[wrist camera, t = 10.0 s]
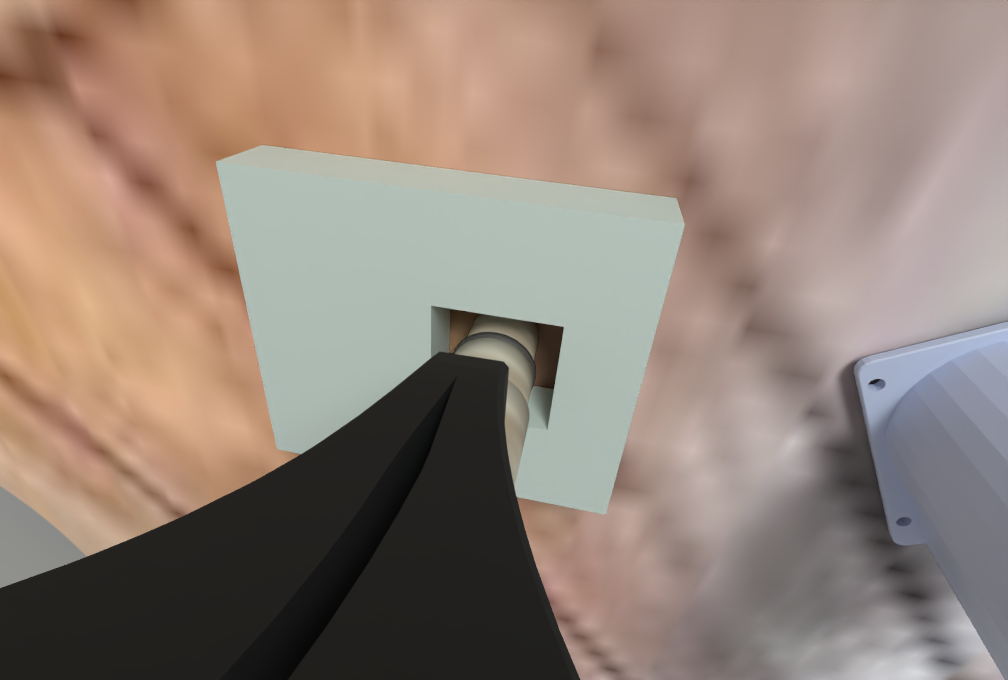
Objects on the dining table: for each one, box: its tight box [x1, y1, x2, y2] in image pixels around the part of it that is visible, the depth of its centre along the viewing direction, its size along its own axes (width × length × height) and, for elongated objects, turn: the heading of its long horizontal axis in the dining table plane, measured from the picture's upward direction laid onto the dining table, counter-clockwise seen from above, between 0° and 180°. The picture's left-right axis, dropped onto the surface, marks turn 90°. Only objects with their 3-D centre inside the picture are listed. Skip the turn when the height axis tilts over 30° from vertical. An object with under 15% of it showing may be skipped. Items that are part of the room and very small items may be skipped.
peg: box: [453, 313, 539, 484], centre depth 17 cm, size 3×3×7 cm
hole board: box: [216, 145, 685, 515], centre depth 19 cm, size 14×12×2 cm
